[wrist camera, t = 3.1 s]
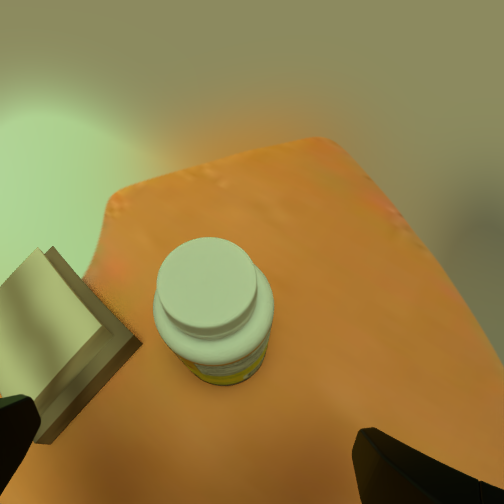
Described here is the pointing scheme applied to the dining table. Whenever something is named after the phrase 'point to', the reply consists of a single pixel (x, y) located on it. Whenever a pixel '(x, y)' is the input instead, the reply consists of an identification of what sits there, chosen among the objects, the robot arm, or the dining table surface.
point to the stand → (57, 341)
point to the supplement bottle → (214, 310)
